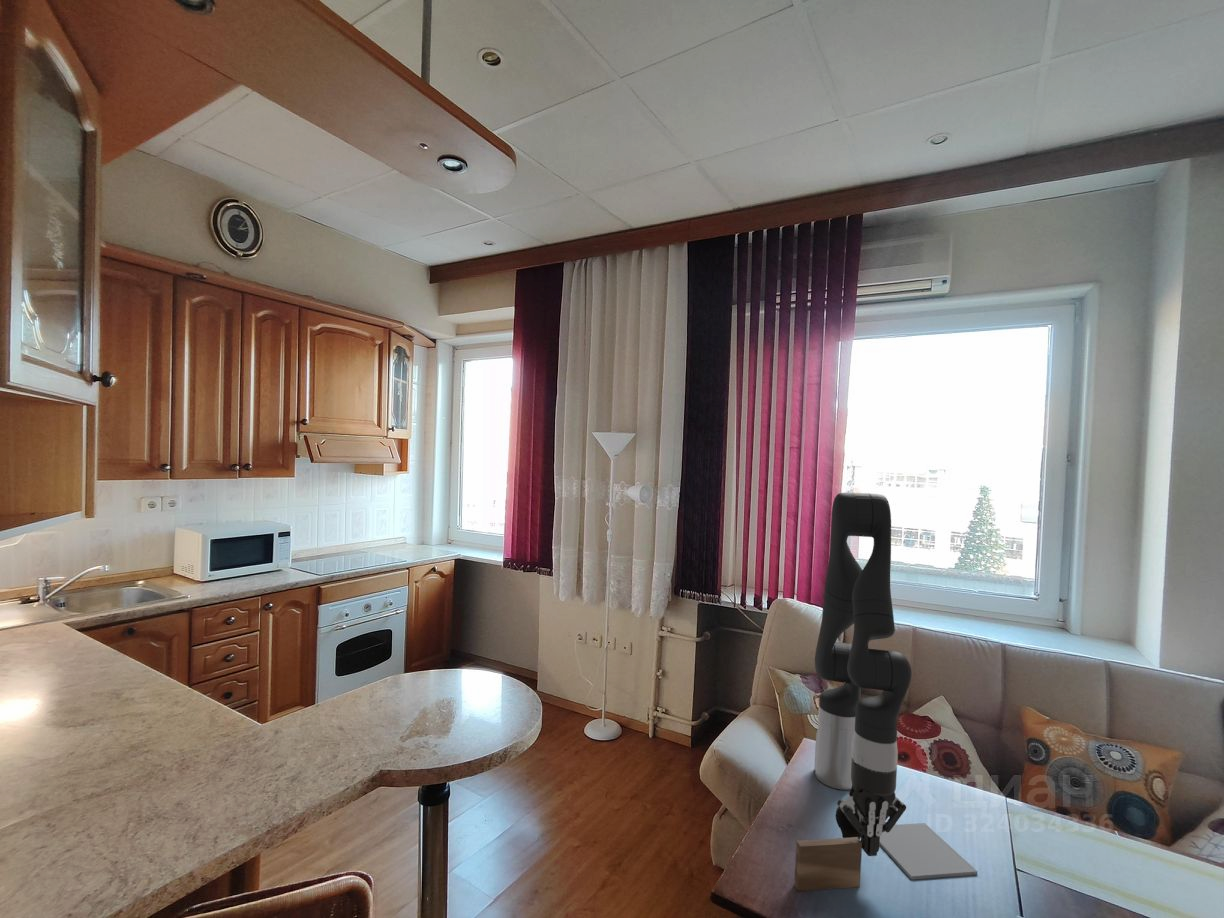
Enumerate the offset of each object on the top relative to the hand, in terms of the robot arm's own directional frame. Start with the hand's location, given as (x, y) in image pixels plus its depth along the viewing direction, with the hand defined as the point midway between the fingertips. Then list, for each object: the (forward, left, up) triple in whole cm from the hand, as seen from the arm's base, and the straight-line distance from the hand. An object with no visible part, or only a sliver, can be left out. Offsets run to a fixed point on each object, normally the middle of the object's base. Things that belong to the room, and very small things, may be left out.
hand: (869, 852), depth 101 cm
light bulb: (-7, +1, -6) cm, 9 cm away
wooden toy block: (0, -8, -6) cm, 10 cm away
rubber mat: (-7, +16, -6) cm, 18 cm away
